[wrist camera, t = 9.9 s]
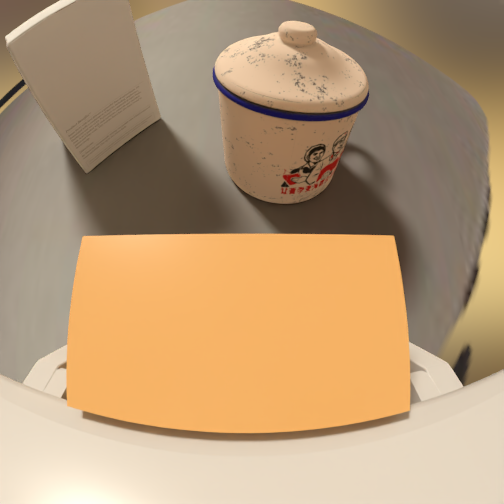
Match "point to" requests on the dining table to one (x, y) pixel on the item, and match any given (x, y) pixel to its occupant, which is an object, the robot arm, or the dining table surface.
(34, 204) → the dining table surface
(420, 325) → the dining table surface
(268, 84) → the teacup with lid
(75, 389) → the orange notched arch block
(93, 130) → the supplement box
